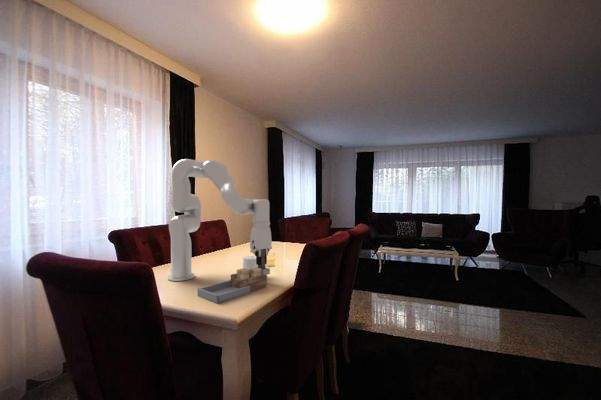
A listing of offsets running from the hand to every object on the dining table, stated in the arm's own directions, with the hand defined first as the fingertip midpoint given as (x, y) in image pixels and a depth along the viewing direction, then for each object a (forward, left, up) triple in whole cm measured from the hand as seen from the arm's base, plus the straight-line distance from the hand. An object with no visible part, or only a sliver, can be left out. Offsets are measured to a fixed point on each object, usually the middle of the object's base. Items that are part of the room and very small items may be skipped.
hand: (261, 263), depth 135 cm
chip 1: (-1, -10, -5) cm, 11 cm away
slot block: (0, -8, -9) cm, 12 cm away
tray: (0, -21, -9) cm, 23 cm away
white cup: (-12, +3, -9) cm, 15 cm away
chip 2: (+2, -5, -5) cm, 8 cm away
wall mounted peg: (0, 0, -5) cm, 5 cm away
